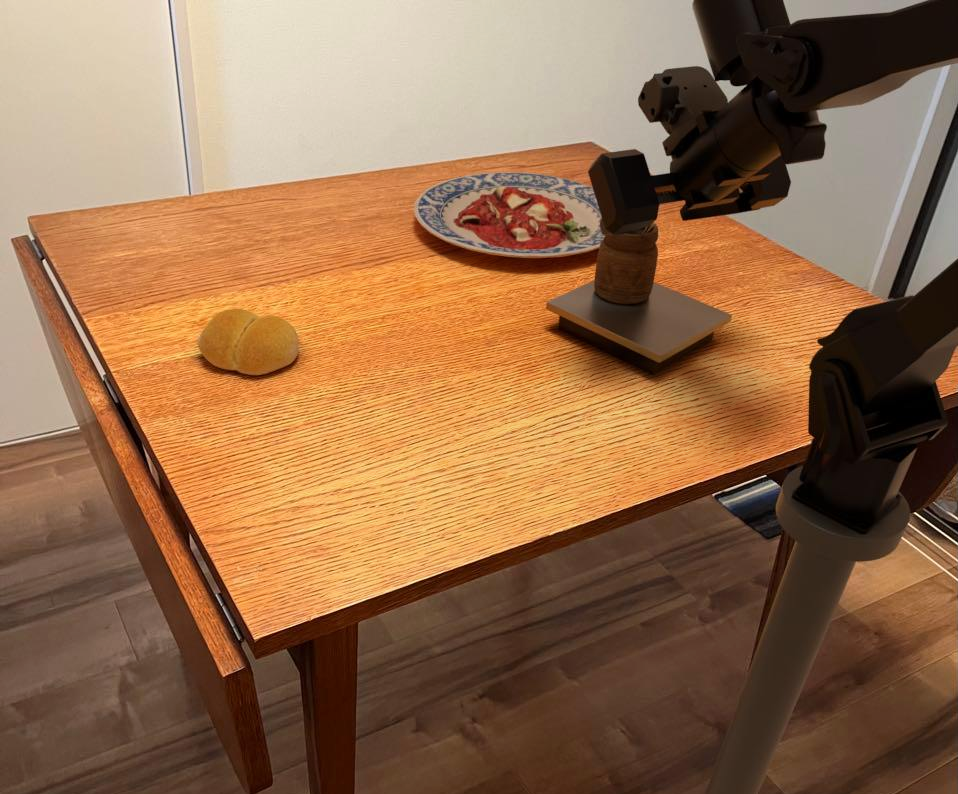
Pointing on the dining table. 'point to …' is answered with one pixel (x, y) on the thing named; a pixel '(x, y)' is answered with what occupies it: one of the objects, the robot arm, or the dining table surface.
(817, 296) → the dining table surface
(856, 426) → the robot arm
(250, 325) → the bread roll
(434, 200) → the ceramic plate
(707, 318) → the platform
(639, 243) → the utensil holder
